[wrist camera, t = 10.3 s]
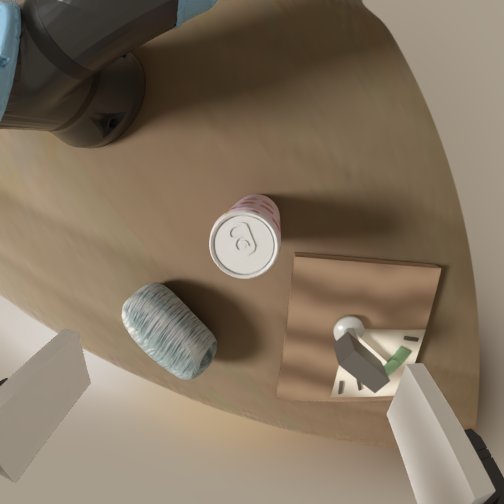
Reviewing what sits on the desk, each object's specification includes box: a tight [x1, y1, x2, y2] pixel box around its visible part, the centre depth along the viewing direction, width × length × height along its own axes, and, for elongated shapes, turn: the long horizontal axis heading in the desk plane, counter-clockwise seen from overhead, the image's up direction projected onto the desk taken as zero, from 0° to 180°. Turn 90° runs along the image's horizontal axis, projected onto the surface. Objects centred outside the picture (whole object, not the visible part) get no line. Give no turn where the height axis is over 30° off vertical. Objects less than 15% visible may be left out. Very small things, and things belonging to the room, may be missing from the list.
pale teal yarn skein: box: [122, 282, 217, 380], centre depth 39 cm, size 14×10×10 cm
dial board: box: [277, 252, 441, 402], centre depth 40 cm, size 22×20×2 cm
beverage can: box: [209, 194, 281, 279], centre depth 31 cm, size 6×6×15 cm
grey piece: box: [333, 315, 390, 393], centre depth 34 cm, size 11×4×10 cm, turn 48°
